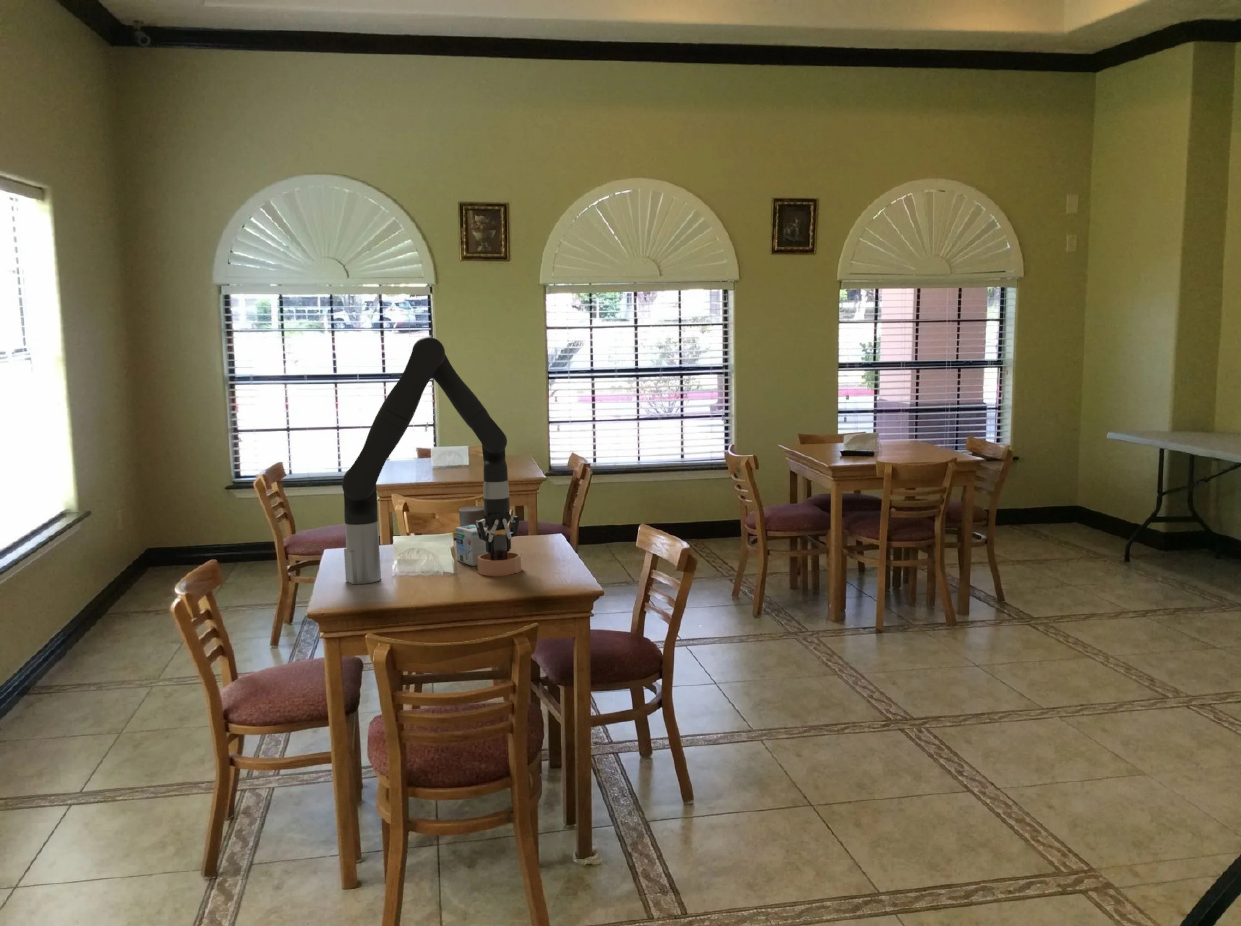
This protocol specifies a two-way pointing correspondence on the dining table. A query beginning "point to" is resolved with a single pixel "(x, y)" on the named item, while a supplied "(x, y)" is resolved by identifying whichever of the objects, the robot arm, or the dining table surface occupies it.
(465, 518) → the pillar candle
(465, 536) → the light bulb box
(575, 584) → the dining table surface
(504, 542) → the black cell
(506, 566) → the pink round dish
